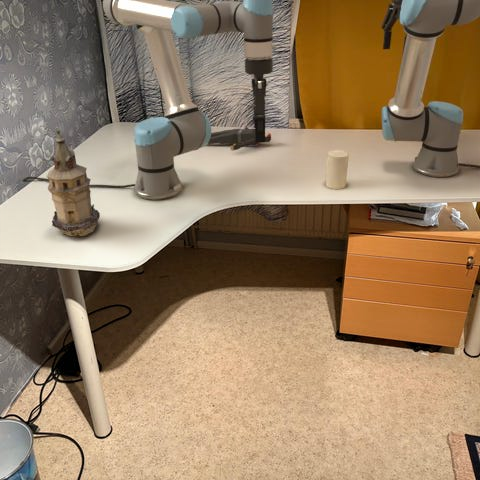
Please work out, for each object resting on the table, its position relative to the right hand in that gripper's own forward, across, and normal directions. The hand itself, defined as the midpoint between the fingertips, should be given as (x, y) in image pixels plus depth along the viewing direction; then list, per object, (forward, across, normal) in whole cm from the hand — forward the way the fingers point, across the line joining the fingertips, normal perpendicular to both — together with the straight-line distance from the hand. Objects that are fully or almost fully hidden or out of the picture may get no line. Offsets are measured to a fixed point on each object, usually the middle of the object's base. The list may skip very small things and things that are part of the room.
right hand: (395, 52), depth 204 cm
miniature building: (+34, +38, -126) cm, 136 cm away
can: (+34, +36, -41) cm, 64 cm away
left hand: (+10, +45, -72) cm, 85 cm away
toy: (+34, -16, -60) cm, 71 cm away
